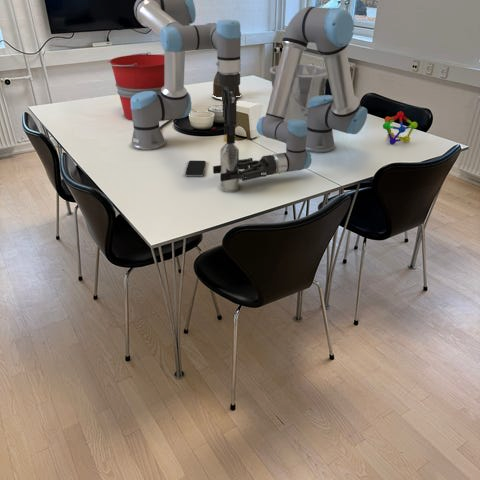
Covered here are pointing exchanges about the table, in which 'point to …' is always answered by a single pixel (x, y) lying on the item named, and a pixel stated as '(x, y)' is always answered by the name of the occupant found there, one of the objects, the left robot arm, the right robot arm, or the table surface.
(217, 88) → the bell
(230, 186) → the bottle
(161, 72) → the bucket
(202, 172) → the smartphone
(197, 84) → the table surface
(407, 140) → the educational toy
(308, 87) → the bucket
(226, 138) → the cap
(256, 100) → the table surface
